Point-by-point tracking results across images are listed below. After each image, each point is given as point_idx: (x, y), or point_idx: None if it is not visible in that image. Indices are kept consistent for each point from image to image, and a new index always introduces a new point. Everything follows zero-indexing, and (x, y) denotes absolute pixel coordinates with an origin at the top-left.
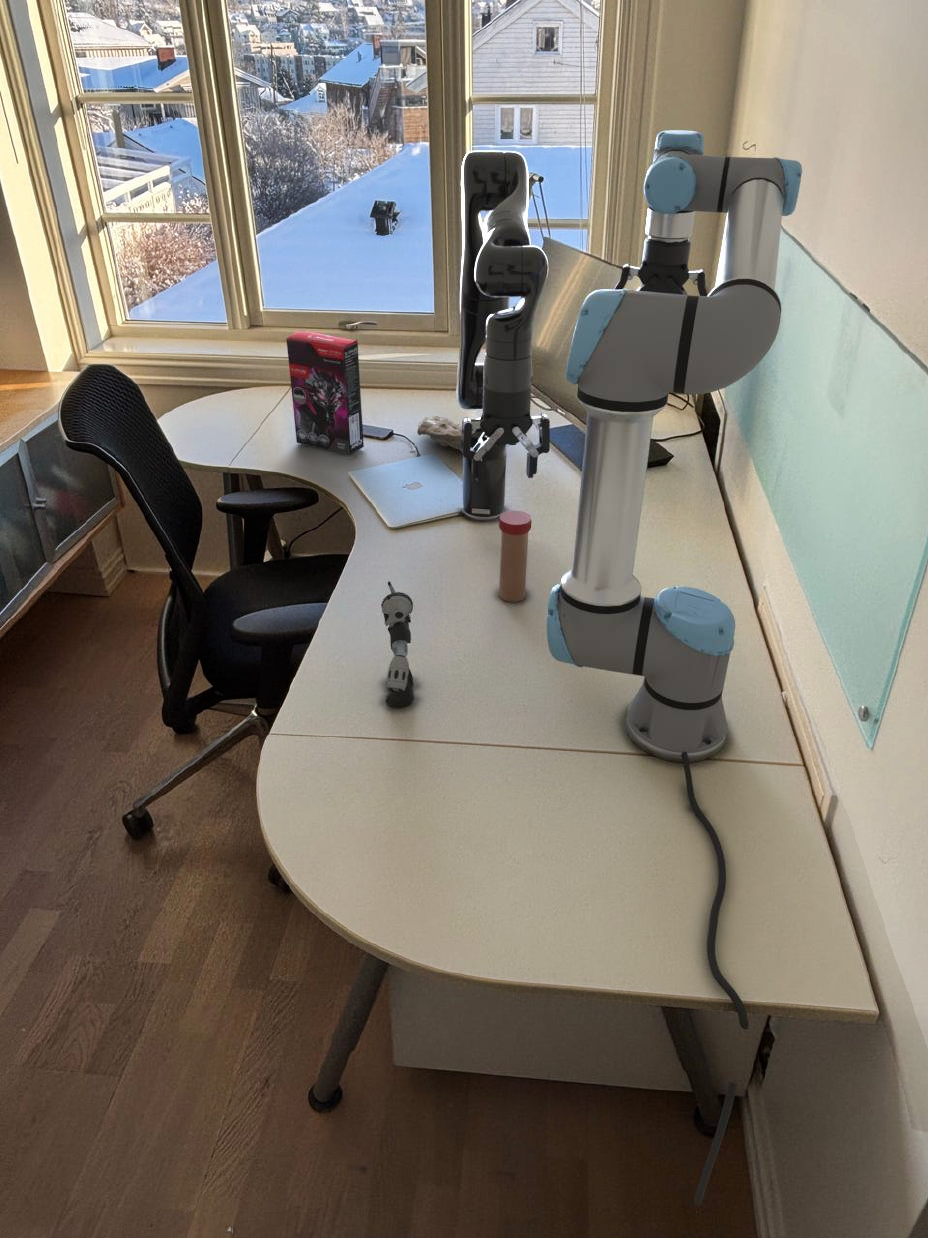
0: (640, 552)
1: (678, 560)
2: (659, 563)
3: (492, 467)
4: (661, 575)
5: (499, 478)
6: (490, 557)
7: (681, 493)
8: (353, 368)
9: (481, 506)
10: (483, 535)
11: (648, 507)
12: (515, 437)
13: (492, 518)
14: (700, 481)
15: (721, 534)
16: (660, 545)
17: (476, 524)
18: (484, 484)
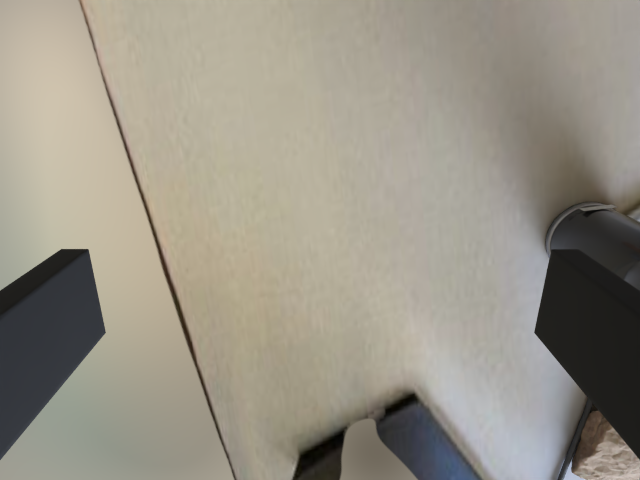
0: (303, 172)
1: (238, 163)
2: (267, 144)
3: (636, 247)
4: (258, 103)
5: (601, 248)
6: (561, 80)
7: (264, 377)
8: None
9: (602, 211)
10: (578, 156)
11: (309, 322)
12: None
13: (567, 211)
14: (241, 419)
15: (184, 267)
16: (274, 205)
17: (592, 192)
18: (627, 227)
